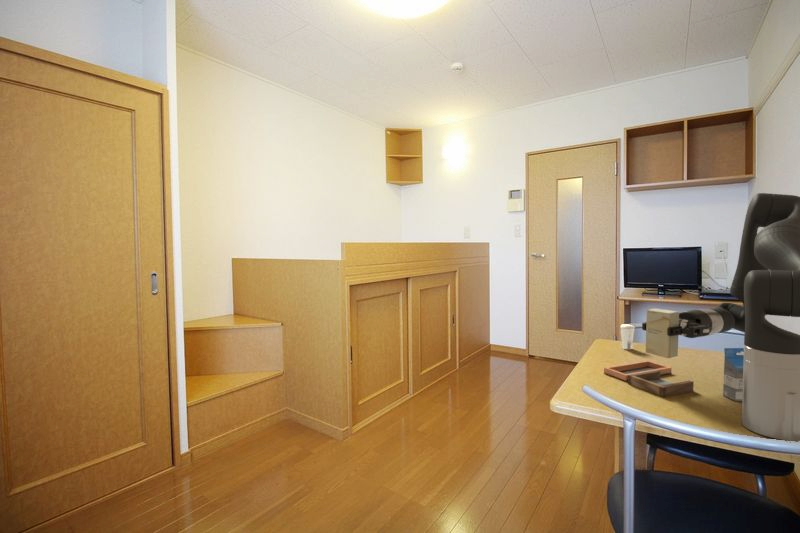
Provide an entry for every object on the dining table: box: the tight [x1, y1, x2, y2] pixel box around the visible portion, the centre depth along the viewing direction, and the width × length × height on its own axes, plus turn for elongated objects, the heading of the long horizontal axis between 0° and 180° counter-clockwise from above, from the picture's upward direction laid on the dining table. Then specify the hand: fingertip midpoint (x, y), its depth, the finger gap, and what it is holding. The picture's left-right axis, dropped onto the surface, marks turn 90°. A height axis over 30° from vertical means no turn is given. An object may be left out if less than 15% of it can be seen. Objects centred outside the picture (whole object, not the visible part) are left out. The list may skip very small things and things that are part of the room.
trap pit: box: [603, 360, 672, 383], centre depth 113 cm, size 8×18×2 cm, turn 109°
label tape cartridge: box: [722, 347, 744, 402], centre depth 93 cm, size 9×4×12 cm, turn 88°
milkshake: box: [619, 322, 638, 351], centre depth 139 cm, size 4×5×10 cm
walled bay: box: [627, 370, 695, 398], centre depth 102 cm, size 10×11×2 cm
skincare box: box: [645, 307, 680, 359], centre depth 101 cm, size 6×4×12 cm
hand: (655, 329), depth 101 cm, fingers closed on skincare box, 6 cm apart
